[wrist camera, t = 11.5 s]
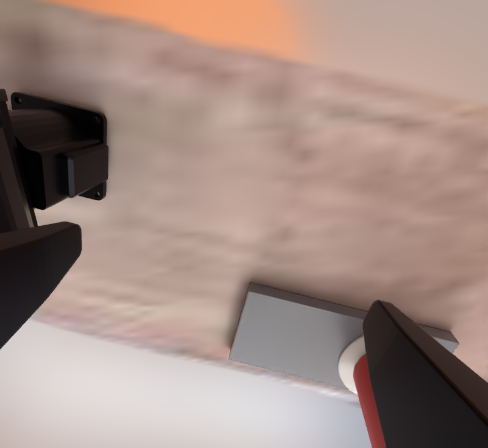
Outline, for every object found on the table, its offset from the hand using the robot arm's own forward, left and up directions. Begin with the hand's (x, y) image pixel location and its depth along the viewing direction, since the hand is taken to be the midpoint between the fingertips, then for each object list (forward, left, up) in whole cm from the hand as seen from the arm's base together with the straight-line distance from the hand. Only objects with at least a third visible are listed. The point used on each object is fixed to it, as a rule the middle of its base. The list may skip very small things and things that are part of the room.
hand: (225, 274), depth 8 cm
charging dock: (+11, -14, -13) cm, 22 cm away
